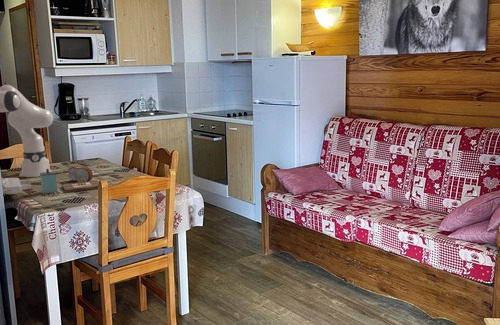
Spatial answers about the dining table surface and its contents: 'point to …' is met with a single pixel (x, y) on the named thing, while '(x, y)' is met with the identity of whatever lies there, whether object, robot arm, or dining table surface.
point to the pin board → (80, 186)
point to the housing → (48, 182)
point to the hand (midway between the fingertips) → (30, 183)
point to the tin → (80, 173)
